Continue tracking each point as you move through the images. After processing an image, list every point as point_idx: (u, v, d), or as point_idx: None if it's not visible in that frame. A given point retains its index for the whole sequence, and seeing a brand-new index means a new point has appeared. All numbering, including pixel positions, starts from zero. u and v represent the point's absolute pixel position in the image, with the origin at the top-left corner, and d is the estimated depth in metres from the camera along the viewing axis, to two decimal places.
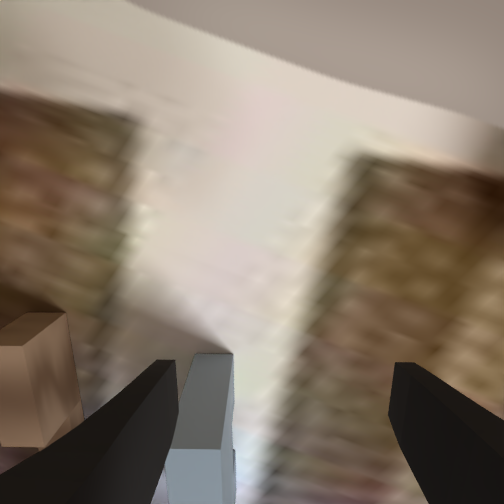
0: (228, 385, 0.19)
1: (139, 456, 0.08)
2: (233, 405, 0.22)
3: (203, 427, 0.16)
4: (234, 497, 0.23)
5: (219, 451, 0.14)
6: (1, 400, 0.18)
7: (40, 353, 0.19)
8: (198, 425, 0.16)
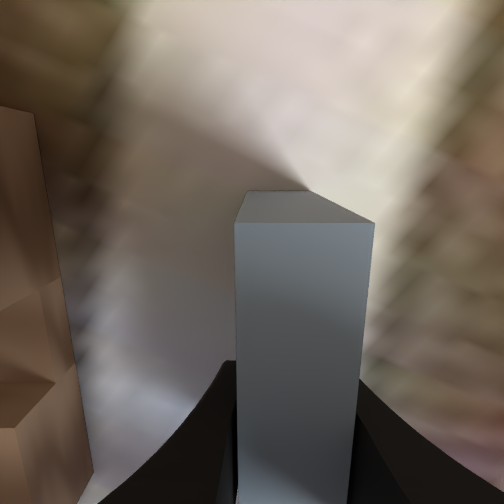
0: None
1: (232, 458, 0.08)
2: None
3: (310, 213, 0.07)
4: None
5: (372, 228, 0.06)
6: None
7: None
8: (297, 212, 0.07)
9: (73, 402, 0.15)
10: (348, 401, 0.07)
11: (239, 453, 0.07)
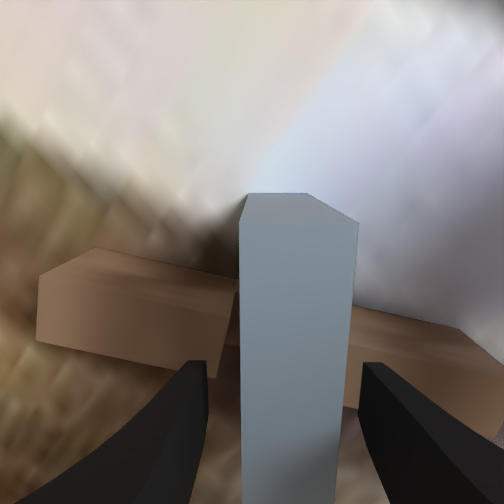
0: (319, 202, 0.11)
1: (181, 457, 0.08)
2: None
3: (305, 214, 0.08)
4: None
5: (356, 227, 0.07)
6: (132, 344, 0.12)
7: (89, 273, 0.12)
8: (293, 213, 0.08)
9: (365, 312, 0.15)
10: (337, 378, 0.08)
11: (242, 425, 0.08)
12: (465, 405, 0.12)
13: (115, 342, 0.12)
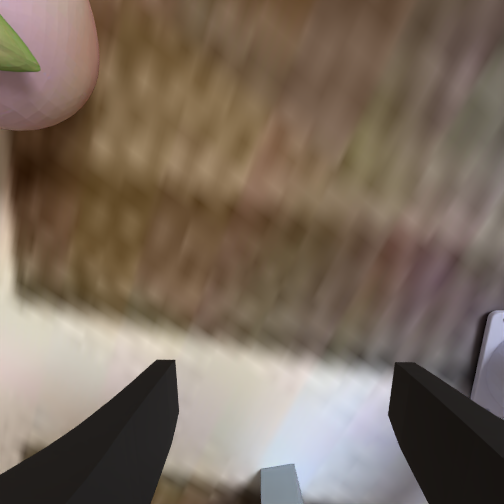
0: None
1: (139, 456, 0.08)
2: None
3: None
4: None
5: None
6: None
7: None
8: None
9: None
10: None
11: None
12: None
13: None
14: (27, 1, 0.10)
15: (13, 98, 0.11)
